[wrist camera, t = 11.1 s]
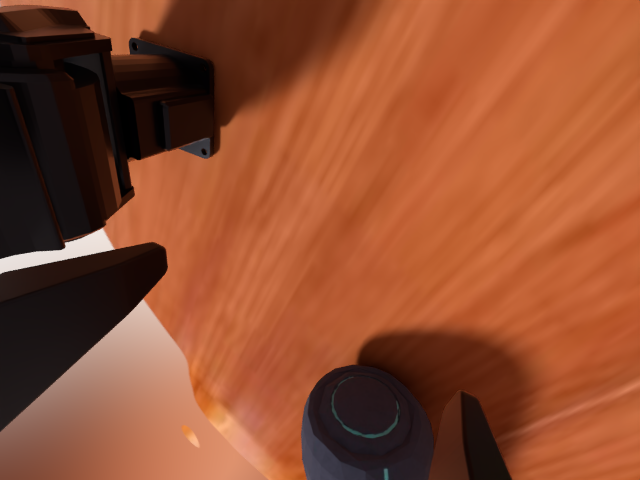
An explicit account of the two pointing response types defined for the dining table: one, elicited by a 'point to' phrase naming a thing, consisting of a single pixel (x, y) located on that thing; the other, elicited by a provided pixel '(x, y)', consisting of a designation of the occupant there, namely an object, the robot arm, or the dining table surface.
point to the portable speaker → (365, 428)
